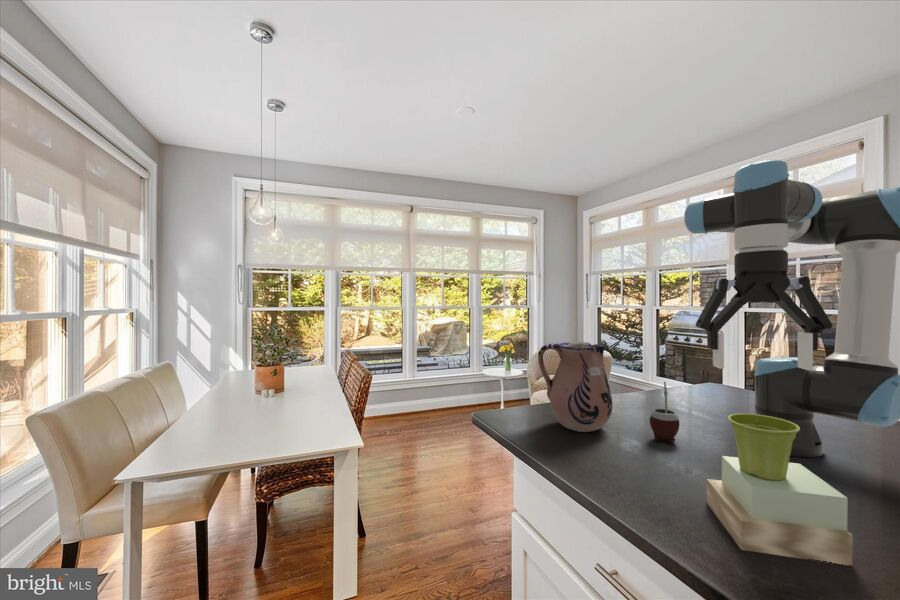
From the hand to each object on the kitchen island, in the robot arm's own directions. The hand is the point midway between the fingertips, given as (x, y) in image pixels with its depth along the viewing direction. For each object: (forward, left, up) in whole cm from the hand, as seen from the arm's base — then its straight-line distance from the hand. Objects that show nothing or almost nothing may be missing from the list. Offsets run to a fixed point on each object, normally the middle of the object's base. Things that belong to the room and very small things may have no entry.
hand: (760, 368), depth 70 cm
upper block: (0, +6, -22) cm, 23 cm away
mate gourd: (+7, -34, -27) cm, 44 cm away
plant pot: (+2, +6, -17) cm, 18 cm away
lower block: (+1, +6, -27) cm, 28 cm away
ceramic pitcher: (+30, -39, -27) cm, 56 cm away
